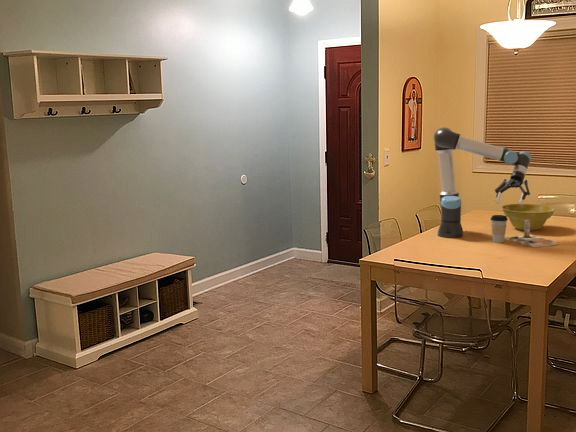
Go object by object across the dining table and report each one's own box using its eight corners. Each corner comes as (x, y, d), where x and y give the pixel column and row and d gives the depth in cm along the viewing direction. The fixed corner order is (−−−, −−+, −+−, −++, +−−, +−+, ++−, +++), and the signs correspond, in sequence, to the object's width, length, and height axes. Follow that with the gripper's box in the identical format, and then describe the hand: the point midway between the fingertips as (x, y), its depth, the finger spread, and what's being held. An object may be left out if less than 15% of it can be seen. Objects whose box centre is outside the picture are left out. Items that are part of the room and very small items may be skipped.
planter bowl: (563, 233, 379) (564, 211, 377) (509, 234, 380) (510, 212, 377) (543, 223, 411) (544, 203, 408) (493, 224, 411) (494, 204, 409)
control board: (507, 239, 365) (508, 220, 363) (529, 237, 370) (530, 218, 368) (534, 247, 344) (535, 227, 342) (557, 244, 350) (558, 224, 347)
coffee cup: (488, 242, 359) (489, 217, 356) (491, 239, 367) (492, 214, 364) (505, 244, 354) (506, 218, 352) (508, 240, 363) (509, 215, 360)
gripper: (541, 179, 368) (531, 208, 360) (499, 177, 384) (489, 205, 375) (538, 171, 363) (528, 200, 355) (496, 169, 379) (486, 197, 371)
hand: (508, 202), depth 365 cm, fingers open, 13 cm apart
